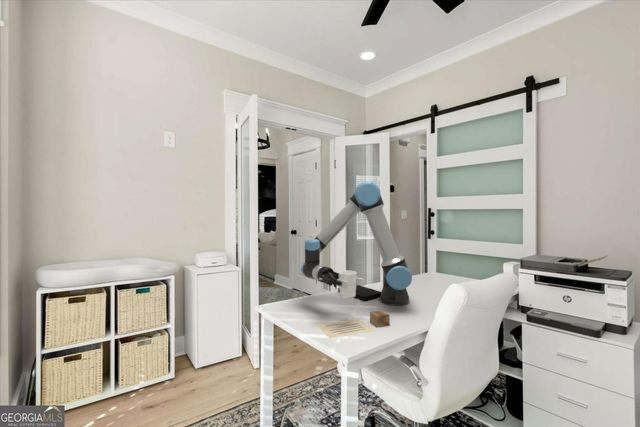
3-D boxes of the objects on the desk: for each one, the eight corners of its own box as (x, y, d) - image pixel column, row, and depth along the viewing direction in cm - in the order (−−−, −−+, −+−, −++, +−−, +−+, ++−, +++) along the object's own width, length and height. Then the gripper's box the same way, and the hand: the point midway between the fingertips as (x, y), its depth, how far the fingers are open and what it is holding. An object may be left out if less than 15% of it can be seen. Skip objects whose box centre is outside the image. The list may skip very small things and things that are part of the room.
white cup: (338, 293, 137) (338, 270, 137) (356, 293, 136) (356, 270, 136) (338, 298, 129) (338, 274, 129) (357, 298, 129) (357, 274, 128)
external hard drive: (356, 289, 192) (356, 284, 192) (384, 297, 172) (384, 292, 172) (338, 293, 184) (338, 287, 184) (364, 302, 164) (364, 296, 164)
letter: (358, 318, 139) (358, 318, 139) (375, 330, 125) (375, 330, 125) (316, 325, 132) (316, 324, 132) (330, 339, 118) (330, 338, 118)
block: (382, 321, 136) (382, 310, 136) (389, 326, 130) (389, 314, 130) (370, 323, 134) (369, 311, 134) (376, 328, 128) (376, 316, 128)
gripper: (305, 268, 142) (335, 278, 123) (340, 264, 153) (373, 271, 134) (305, 285, 142) (335, 297, 123) (340, 279, 153) (373, 289, 134)
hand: (355, 283), depth 129 cm, fingers closed on white cup, 7 cm apart
